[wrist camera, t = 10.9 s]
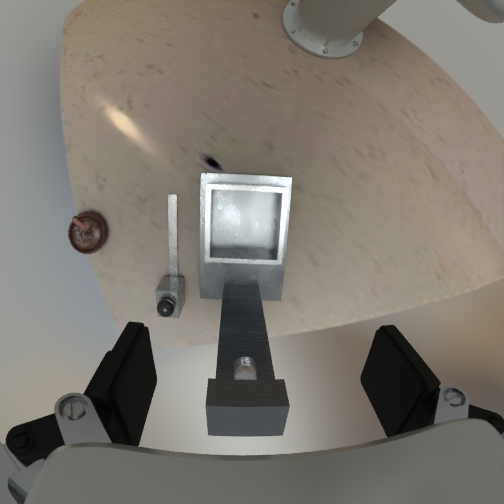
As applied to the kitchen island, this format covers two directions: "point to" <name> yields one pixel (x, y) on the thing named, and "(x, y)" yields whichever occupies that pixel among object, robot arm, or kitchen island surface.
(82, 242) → the red can
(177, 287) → the lever
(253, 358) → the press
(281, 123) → the kitchen island surface
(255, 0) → the kitchen island surface
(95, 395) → the robot arm
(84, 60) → the kitchen island surface
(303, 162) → the kitchen island surface
